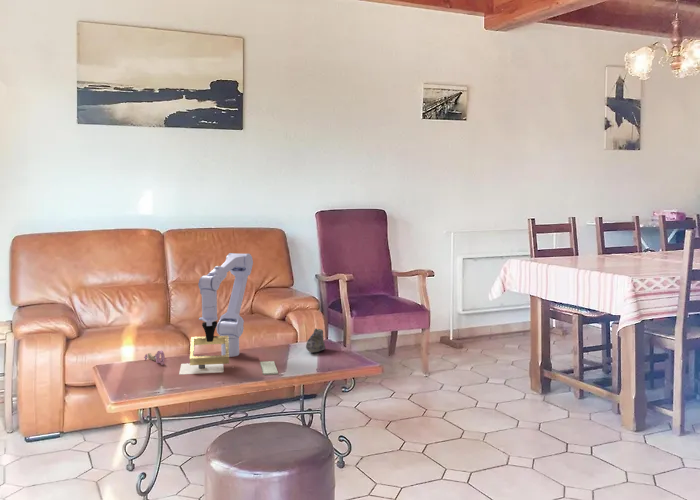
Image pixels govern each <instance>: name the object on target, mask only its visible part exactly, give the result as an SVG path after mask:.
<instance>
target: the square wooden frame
mask: <svg viewBox="0 0 700 500" xmlns="http://www.w3.org/2000/svg"><path fill="white" fill-rule="evenodd" d="M221 344H225V349H226V355H222V354H221V355H220V354H219V355H198V356H197V355H196V356H195V346H203V345H205V346H207V345H208V346H209V345H221ZM189 349H190V350H189V363H190V365H207V364H223V365H225V364H226V365H227V364H230V357H229V337H228V336H220V335H214V338H213V342H207V339H206V335H205V336H191V337H190V348H189Z"/></svg>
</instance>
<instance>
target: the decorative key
mask: <svg viewBox="0 0 700 500" xmlns="http://www.w3.org/2000/svg"><path fill="white" fill-rule="evenodd" d="M143 358H144V360H145V361H147V359H149V360H151V361H152V360H153V361H154V362H155V363H156V364H160V365H162V366H163V365H165V353H164V350H158V351H157V352H156V353H155V354H154V355H153V354H152V353H151V352H149V353H146V354H145V355H144V357H143Z"/></svg>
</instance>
